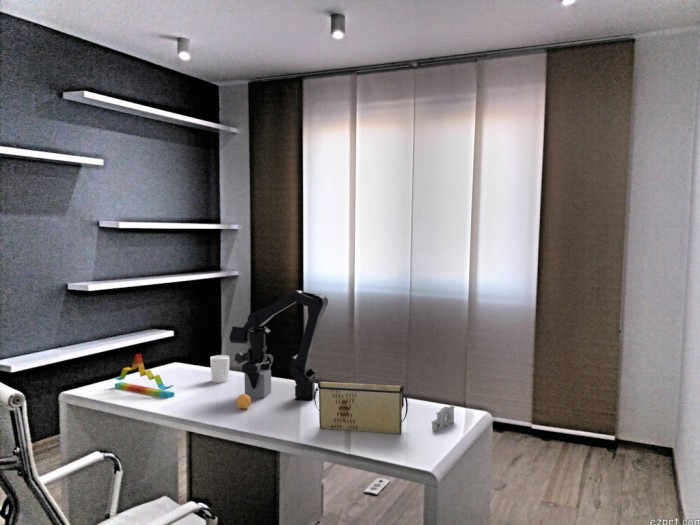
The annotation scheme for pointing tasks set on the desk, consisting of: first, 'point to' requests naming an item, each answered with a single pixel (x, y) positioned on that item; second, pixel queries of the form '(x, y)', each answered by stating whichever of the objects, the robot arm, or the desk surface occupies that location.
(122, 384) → the chart
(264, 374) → the matte grey cube
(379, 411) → the clutch purse
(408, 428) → the desk surface
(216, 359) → the white cup
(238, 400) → the ball
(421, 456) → the desk surface
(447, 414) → the garden wall model
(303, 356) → the robot arm
